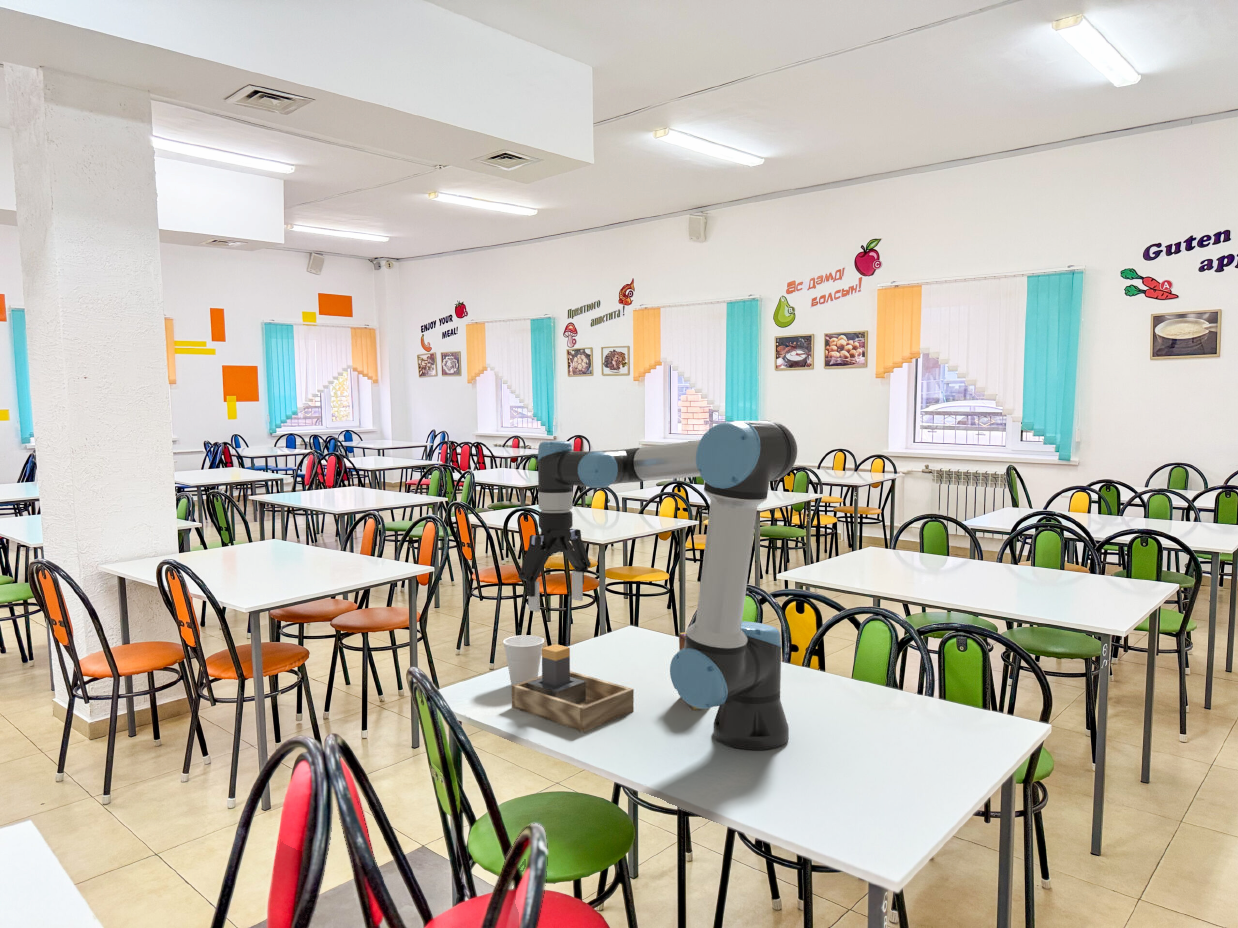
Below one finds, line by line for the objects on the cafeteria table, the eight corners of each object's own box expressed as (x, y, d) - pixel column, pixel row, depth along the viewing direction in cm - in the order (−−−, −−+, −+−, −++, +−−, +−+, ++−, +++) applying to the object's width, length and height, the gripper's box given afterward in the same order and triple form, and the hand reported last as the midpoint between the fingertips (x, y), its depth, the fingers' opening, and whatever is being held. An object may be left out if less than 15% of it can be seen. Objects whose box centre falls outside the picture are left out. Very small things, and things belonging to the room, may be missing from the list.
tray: (633, 711, 187) (633, 688, 186) (583, 732, 175) (583, 708, 174) (562, 689, 201) (562, 668, 201) (511, 707, 189) (511, 685, 189)
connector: (570, 699, 191) (569, 647, 190) (556, 704, 188) (555, 651, 187) (556, 695, 194) (555, 643, 193) (542, 700, 191) (541, 648, 190)
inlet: (585, 700, 191) (585, 681, 191) (556, 712, 184) (556, 691, 184) (556, 691, 198) (556, 672, 197) (526, 702, 191) (526, 682, 190)
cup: (542, 692, 199) (542, 646, 198) (500, 692, 199) (499, 646, 198) (546, 678, 209) (546, 634, 208) (506, 678, 209) (506, 634, 208)
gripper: (581, 504, 200) (582, 593, 201) (501, 514, 181) (502, 612, 183) (605, 506, 195) (605, 597, 196) (525, 517, 176) (526, 618, 178)
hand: (556, 605), depth 190 cm, fingers open, 13 cm apart
